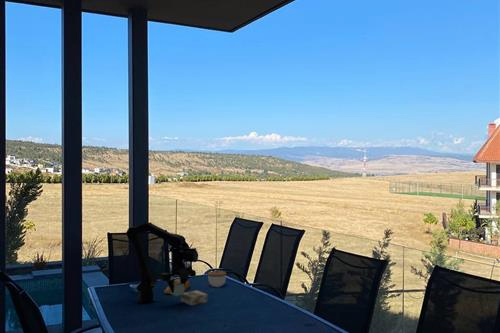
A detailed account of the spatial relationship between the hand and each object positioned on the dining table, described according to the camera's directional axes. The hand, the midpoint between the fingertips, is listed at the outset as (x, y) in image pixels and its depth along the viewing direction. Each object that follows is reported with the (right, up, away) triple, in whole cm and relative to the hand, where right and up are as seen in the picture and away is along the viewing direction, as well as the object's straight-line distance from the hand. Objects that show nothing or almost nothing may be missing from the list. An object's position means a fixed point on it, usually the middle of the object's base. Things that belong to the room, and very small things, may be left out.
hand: (177, 291), depth 234 cm
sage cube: (0, -1, 0) cm, 1 cm away
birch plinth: (+8, -7, +6) cm, 12 cm away
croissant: (-4, -7, +28) cm, 29 cm away
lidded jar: (+17, -7, +39) cm, 43 cm away
